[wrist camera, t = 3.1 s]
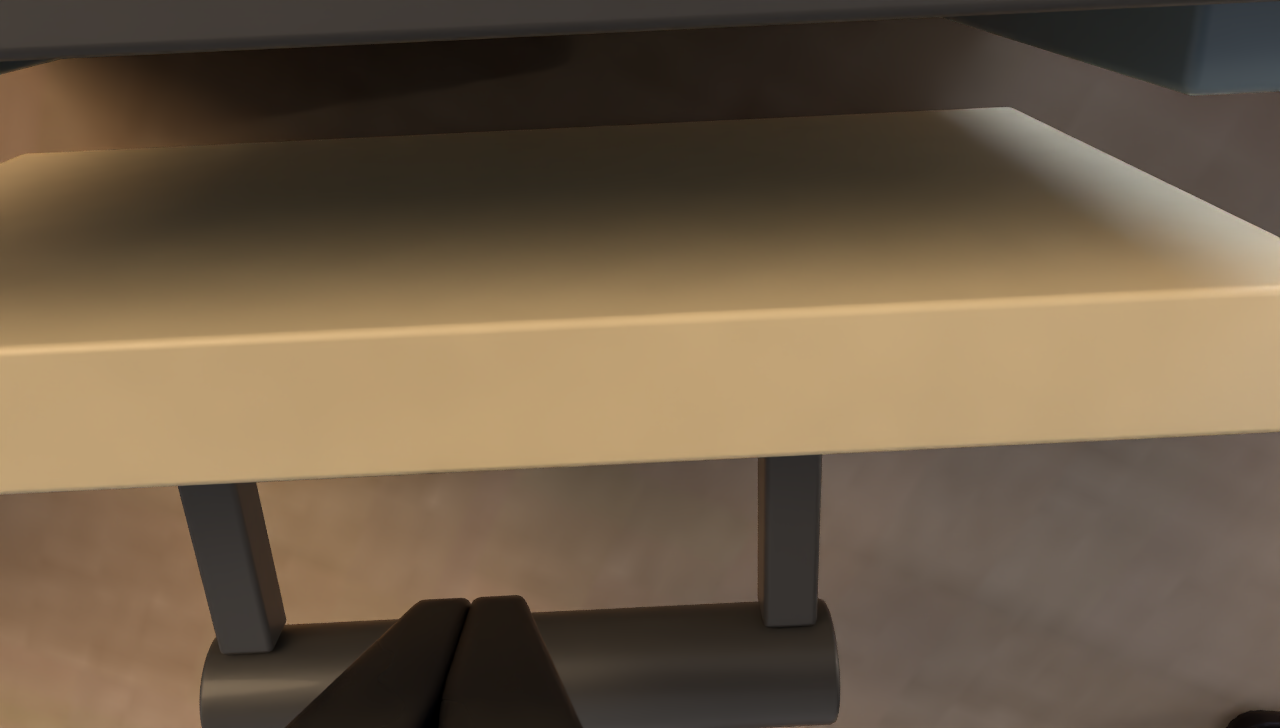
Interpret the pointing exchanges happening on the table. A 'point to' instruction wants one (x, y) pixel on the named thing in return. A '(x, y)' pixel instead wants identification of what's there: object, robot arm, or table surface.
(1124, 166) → the drawer
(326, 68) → the table surface
